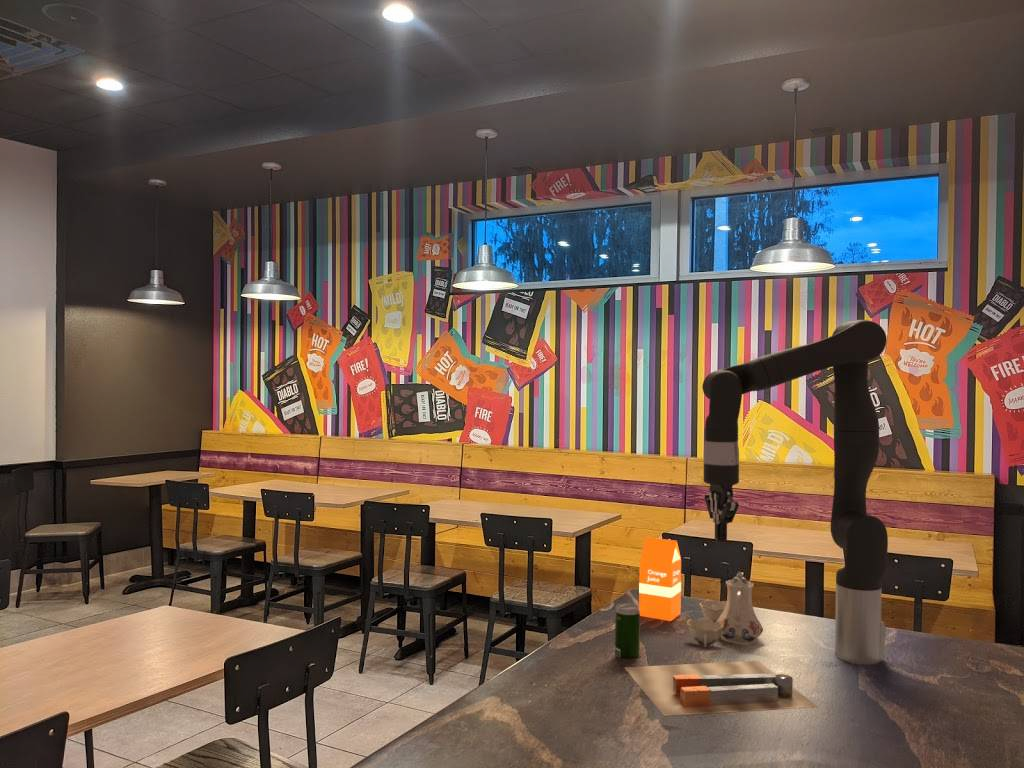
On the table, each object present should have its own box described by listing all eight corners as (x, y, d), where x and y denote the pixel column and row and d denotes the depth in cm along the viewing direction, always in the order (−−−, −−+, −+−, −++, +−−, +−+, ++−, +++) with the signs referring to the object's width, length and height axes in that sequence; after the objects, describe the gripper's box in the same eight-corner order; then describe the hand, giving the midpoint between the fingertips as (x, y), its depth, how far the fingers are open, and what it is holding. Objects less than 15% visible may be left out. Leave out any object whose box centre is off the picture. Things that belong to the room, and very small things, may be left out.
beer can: (626, 667, 171) (626, 611, 171) (609, 659, 176) (610, 605, 175) (644, 662, 174) (645, 607, 174) (628, 655, 179) (628, 601, 178)
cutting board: (758, 667, 172) (758, 660, 172) (818, 714, 148) (818, 706, 148) (624, 674, 167) (624, 667, 167) (663, 724, 143) (664, 715, 143)
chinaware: (697, 623, 208) (691, 559, 208) (764, 623, 203) (758, 558, 203) (687, 659, 181) (680, 586, 181) (763, 661, 176) (756, 585, 176)
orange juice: (670, 621, 204) (672, 543, 204) (638, 615, 208) (639, 539, 208) (680, 613, 211) (681, 538, 210) (649, 608, 215) (650, 534, 215)
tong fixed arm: (772, 697, 152) (773, 682, 152) (778, 702, 150) (778, 686, 150) (680, 703, 149) (680, 687, 149) (684, 707, 147) (684, 691, 147)
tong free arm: (785, 688, 156) (786, 672, 156) (795, 697, 151) (795, 680, 151) (672, 691, 154) (672, 674, 154) (679, 700, 149) (679, 683, 149)
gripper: (751, 464, 168) (750, 546, 169) (724, 458, 182) (723, 534, 182) (717, 465, 167) (717, 547, 167) (693, 458, 180) (692, 535, 180)
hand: (720, 540), depth 175 cm, fingers closed
